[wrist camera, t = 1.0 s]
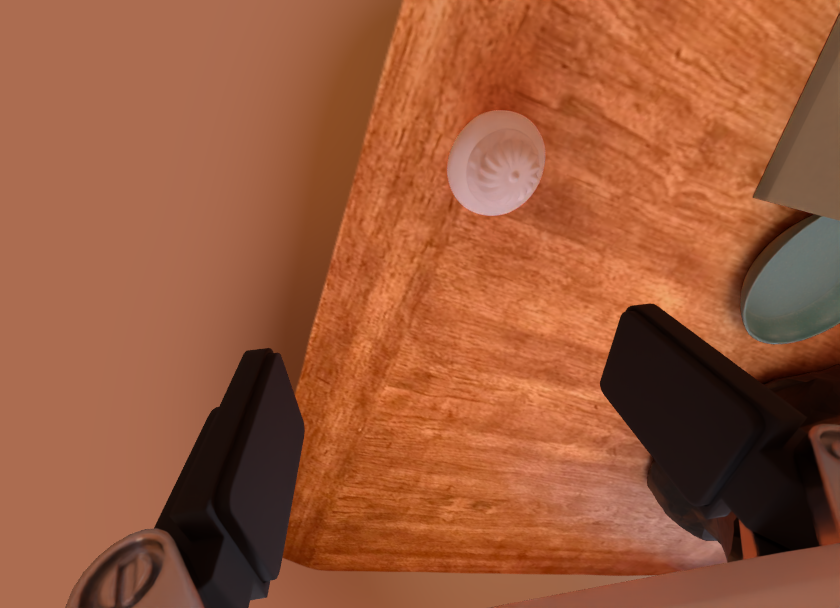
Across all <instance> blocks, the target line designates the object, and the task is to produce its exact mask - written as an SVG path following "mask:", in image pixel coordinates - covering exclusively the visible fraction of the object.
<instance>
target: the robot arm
mask: <svg viewBox="0 0 840 608" xmlns="http://www.w3.org/2000/svg"><path fill="white" fill-rule="evenodd" d="M600 386H601V390H602V392H603V394H604V395H605V397H606V398H607V399H608V400H609V402H610V403H611V404H612V406H613V407H614V408H615V409H616V411H617V412H618V413H619V415H620V416H621V417H622V418H623V420H624V421H625V422H626V424H627V425H628V426H629V427H630V429H631V430H632V431H633V433H634V434H635V435H636V436H637V438H638V439H639V440H640V442H641V443H642V444H643V445H644V447H645V448H646V449H647V451H648V452H649V453H650V454H651V456H652V457H653V458H654V460H655V461H656V462H657V463H658V465H659V466H660V467H661V468H662V470H663V471H664V472H665V474H666V475H667V476H668V477H669V479H670V480H671V481H672V483H673V484H674V485H675V486H676V488H677V489H678V490H679V492H680V493H681V494H682V495H683V497H684V498H685V499H686V500H687V501H688V502H689V503H690V504H691V505H693V506H696V507H697V508H698V510H699V511H700V512H701V513H702V515H703V516H704V517H705V518H706V520H707V519H713V518H718V517H724V516H728V515H729V513H730V512H731V511H732V512H733V513H734V514H735V515H736V517H737V518H738V519H739V526H740V534H741V543H742V551H743V560H739V561H733V562H728V563H722V564H717V565H712V566H706V567H701V568H695V569H690V570H684V571H679V572H674V573H668V574H663V575H657V576H652V577H647V578H642V579H636V580H631V581H626V582H621V583H615V584H610V585H605V586H599V587H594V588H589V589H584V590H578V591H573V592H568V593H562V594H557V595H552V596H547V597H541V598H536V599H531V600H526V601H520V602H515V603H510V604H505V605H500V606H495V607H489V608H840V425H835V424H820V425H816V426H813V427H812V429H811V430H810V431H809V432H808V433H806V432H805V431H803V430H802V429H801V428H800V426H801V425H802V424H803V422H804V421H805V420H806V419H807V417H806V416H805V415H803V414H802V413H801V412H799V411H798V410H797V409H795V408H794V407H793V406H791V405H790V404H789V403H787V402H786V401H785V400H783V399H782V398H780V397H779V396H778V395H776V394H775V393H774V392H772V391H771V390H770V389H768V388H767V387H766V386H764V385H763V384H762V383H760V382H759V381H758V380H756V379H755V378H754V377H752V376H751V375H750V374H748V373H747V372H745V371H744V370H743V369H741V368H740V367H739V366H737V365H736V364H735V363H733V362H732V361H731V360H729V359H728V358H727V357H725V356H724V355H723V354H721V353H720V352H719V351H717V350H716V349H715V348H713V347H712V346H711V345H709V344H708V343H706V342H705V341H704V340H702V339H701V338H700V337H698V336H697V335H696V334H694V333H693V332H692V331H690V330H689V329H688V328H686V327H685V326H684V325H682V324H681V323H680V322H678V321H677V320H676V319H674V318H673V317H671V316H670V315H669V314H667V313H666V312H665V311H663V310H662V309H661V308H659V307H658V306H656V305H655V304H643V305H634V306H630V307H628V308H627V310H626V312H624V313H623V314H622V315H621V317H620V321H619V324H618V327H617V330H616V333H615V336H614V340H613V343H612V346H611V349H610V352H609V355H608V359H607V362H606V365H605V368H604V371H603V375H602V378H601V381H600ZM303 439H304V422H303V419H302V416H301V413H300V410H299V407H298V404H297V401H296V398H295V395H294V392H293V389H292V386H291V383H290V380H289V377H288V374H287V371H286V368H285V366H284V363H283V360H282V357H281V355H280V354H279V353H273V351H272V349H270V348H266V349H257V350H250V351H246V352H245V353H244V355H243V357H242V359H241V361H240V363H239V365H238V368H237V370H236V372H235V374H234V376H233V378H232V381H231V383H230V385H229V387H228V389H227V392H226V394H225V396H224V398H223V400H222V402H221V404H220V407H216V408H215V409H213V410H212V411H211V413H210V414H209V416H208V418H207V420H206V422H205V424H204V426H203V428H202V430H201V432H200V435H199V436H198V438H197V440H196V443H195V445H194V447H193V449H192V451H191V453H190V455H189V457H188V459H187V461H186V463H185V465H184V467H183V470H182V471H181V474H180V476H179V478H178V480H177V482H176V484H175V486H174V488H173V490H172V492H171V494H170V496H169V498H168V501H167V503H166V505H165V507H164V509H163V511H162V513H161V515H160V517H159V519H158V521H157V523H156V525H155V527H154V529H145V530H141V531H139V532H136V533H133V534H130V535H128V536H126V537H125V538H123V539H121V540H119V541H118V542H116V543H114V544H113V545H112V546H110V547H109V548H108V549H107V550H105V551H104V552H103V553H102V554H101V555H99V556H98V557H97V558H96V559H95V560H94V561H93V563H92V564H91V565H90V566H89V567H88V568H87V569H86V570H85V571H84V572H83V574H82V576H81V577H80V579H79V580H78V582H77V583H76V585H75V586H74V588H73V589H72V592H71V594H70V597H69V599H68V602H67V604H66V608H248V607H249V602H250V600H255V599H260V598H266V597H267V595H268V589H269V585H270V580H275V579H276V578H277V576H278V575H279V571H280V567H281V561H282V556H283V550H284V545H285V539H286V534H287V528H288V523H289V517H290V511H291V506H292V500H293V495H294V489H295V484H296V478H297V472H298V467H299V461H300V456H301V450H302V445H303Z"/></svg>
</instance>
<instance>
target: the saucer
mask: <svg viewBox="0 0 840 608" xmlns="http://www.w3.org/2000/svg"><path fill="white" fill-rule="evenodd" d="M740 310H741V316H742V320H743V323H744V326H745V328H746V330H747V332H748V334H749V335H750V336H751V337H753V338H754V339H756V340H758V341H760V342H763V343H767V344H787V343H793V342H797V341H802V340H805V339H808V338H810V337H813V336H816V335H818V334H820V333H823V332H825V331H827V330H829V329H831V328H833V327H834V326H836V325H838V324H839V323H840V221H838V220H834V219H831V218H827V217H823V216H820V215H816V214H814V215H812V216H810V217H808V218H806V219H804V220H802V221H800V222H798V223H796V224H795V225H793V226H791V227H790V228H788V229H787V230H785V231H784V232H783V233H781V234H780V235H779V236H778V237H776V238H775V239H774V240H773V241H772V242H771V243H770V244H769V245H768V246H767V247H766V248H765V249H764V250H763V251H762V252H761V253H760V254H759V256H758V257H757V258H756V259H755V261H754V262H753V264H752V265H751V267H750V269H749V270H748V272H747V275H746V277H745V279H744V282H743V286H742V290H741V298H740Z"/></svg>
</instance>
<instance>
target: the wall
mask: <svg viewBox="0 0 840 608" xmlns="http://www.w3.org/2000/svg"><path fill="white" fill-rule="evenodd" d="M753 198H756V199H760V200H764V201H768V202H771V203H775V204H779V205H783V206H786V207H790V208H794V209H797V210H801V211H805V212H808V213H812V214H816V215H820V216H823V217H827V218H831V219H834V220H838V221H840V15H839V17H838V19H837V21H836V23H835V25H834V27H833V29H832V31H831V34H830V36H829V38H828V40H827V42H826V44H825V46H824V48H823V50H822V53H821V55H820V57H819V59H818V61H817V63H816V65H815V67H814V69H813V72H812V74H811V76H810V78H809V80H808V82H807V84H806V86H805V88H804V91H803V93H802V95H801V97H800V99H799V101H798V103H797V105H796V107H795V109H794V112H793V114H792V116H791V118H790V120H789V122H788V124H787V126H786V128H785V131H784V133H783V135H782V137H781V139H780V141H779V143H778V145H777V147H776V150H775V152H774V154H773V156H772V158H771V160H770V162H769V164H768V166H767V169H766V171H765V173H764V175H763V177H762V179H761V181H760V183H759V185H758V188H757V190H756V192H755V194H754V196H753Z"/></svg>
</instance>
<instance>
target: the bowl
mask: <svg viewBox="0 0 840 608" xmlns="http://www.w3.org/2000/svg"><path fill="white" fill-rule="evenodd" d="M763 385H764V386H766V387H767V388H768V389H770V390H771V391H772V392H774V393H775V394H776V395H778V396H779V397H780V398H782V399H783V400H785V401H786V402H787V403H789V404H790V405H791V406H793V407H794V408H795V409H797V410H798V411H799V412H801V413H802V414H803V415H805V416H806V417H807V419H806V420H805V421H804V422H803V424H802V425H801V426H800V428H801V429H802V430H803V431H805V432H806V433H808V432H809V431H810V430H811V429H812V427H813V426H816V425H820V424H835V425H840V365H835V366H833V367H830V368H828V369H826V370H823V371H819V372H811V373H805V374H801V375H798V376H793V377H786V378H781V379H777V380H772V381H770V382H768V383H766V384H763ZM647 479H648V480H647V484H648V487H649V489H650V490H651V491H652V493H653V495H654V496H655V498H656V500H657V502H658V503H659V504H660V506H661V507H662V508H663V510H664V512H665V513H666V514H667V515H668V516H669V517H670V518H671V519H672V520H673V521H674V522H676V523H677V524H678V525H679V526H680V527H682V528H683V529H685V530H686V531H688V532H690V533H691V534H692V535H694V536H696V537H698V538H700V539H702V540H705V541H718V542H719V543H720V544H721V545H722V547H723V550H724V552H725V555H726V558H727V562H733V561H739V560H743V551H742V543H741V534H740V526H739V519H738V518H737V517H736V515H735V514H734V513H733V512H732V511H731V512H730V513H729V515H728V516H724V517H718V518H713V519H707V520H706V518H705V517H704V516H703V515H702V513H701V512H700V511H699V510H698V508H697V507H696V506H693V505H691V504H690V503H689V502H688V501H687V500H686V499H685V498H684V497H683V495H682V494H681V493H680V492H679V490H678V489H677V488H676V486H675V485H674V484H673V483H672V481H671V480H670V479H669V477H668V476H667V475H666V474H665V472H664V471H663V470H662V468H661V467H660V466H659V465H658V463H657V462H656V461H655V460H654V461H653V462H652V466H651V469H650V470H649V473H648V477H647Z"/></svg>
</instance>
